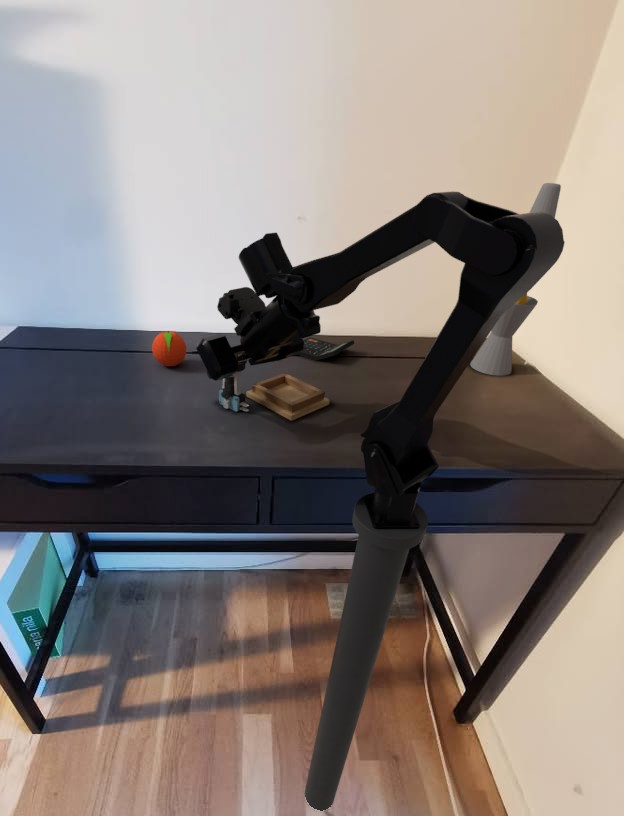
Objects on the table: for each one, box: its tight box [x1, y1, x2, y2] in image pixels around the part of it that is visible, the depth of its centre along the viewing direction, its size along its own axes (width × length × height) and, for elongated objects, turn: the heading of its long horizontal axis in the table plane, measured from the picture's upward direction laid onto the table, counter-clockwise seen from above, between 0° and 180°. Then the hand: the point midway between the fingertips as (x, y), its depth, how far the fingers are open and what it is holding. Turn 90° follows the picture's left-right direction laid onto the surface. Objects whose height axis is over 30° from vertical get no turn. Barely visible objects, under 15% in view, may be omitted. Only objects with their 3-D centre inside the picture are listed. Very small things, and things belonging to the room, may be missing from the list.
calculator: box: [296, 336, 355, 361], centre depth 110 cm, size 9×12×3 cm
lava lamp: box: [469, 182, 562, 377], centre depth 98 cm, size 9×9×35 cm
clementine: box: [151, 330, 187, 367], centre depth 100 cm, size 8×7×7 cm
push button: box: [218, 354, 250, 412], centre depth 85 cm, size 7×5×10 cm
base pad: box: [245, 372, 331, 421], centre depth 90 cm, size 12×10×2 cm
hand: (229, 369), depth 85 cm, fingers open, 9 cm apart
